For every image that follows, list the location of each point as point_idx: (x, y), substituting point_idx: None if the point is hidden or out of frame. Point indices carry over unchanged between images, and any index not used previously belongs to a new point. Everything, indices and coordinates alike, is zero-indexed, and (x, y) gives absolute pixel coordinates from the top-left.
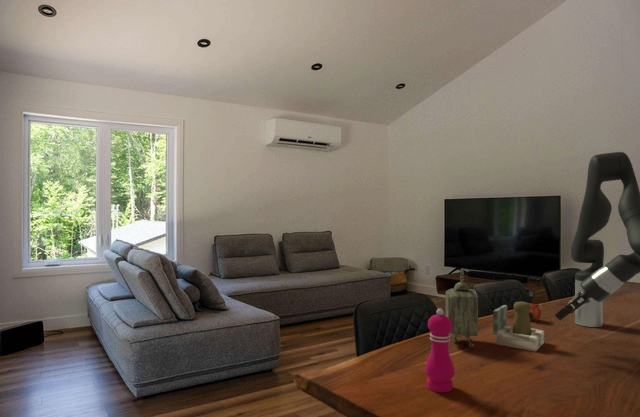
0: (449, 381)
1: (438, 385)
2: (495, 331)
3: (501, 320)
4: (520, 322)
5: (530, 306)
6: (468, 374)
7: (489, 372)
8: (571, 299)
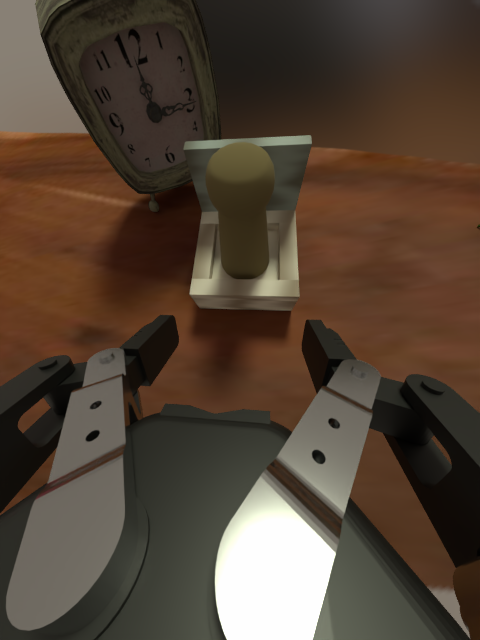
0: None
1: None
2: (202, 209)
3: None
4: (219, 231)
5: None
6: (13, 249)
7: (31, 270)
8: (68, 410)
